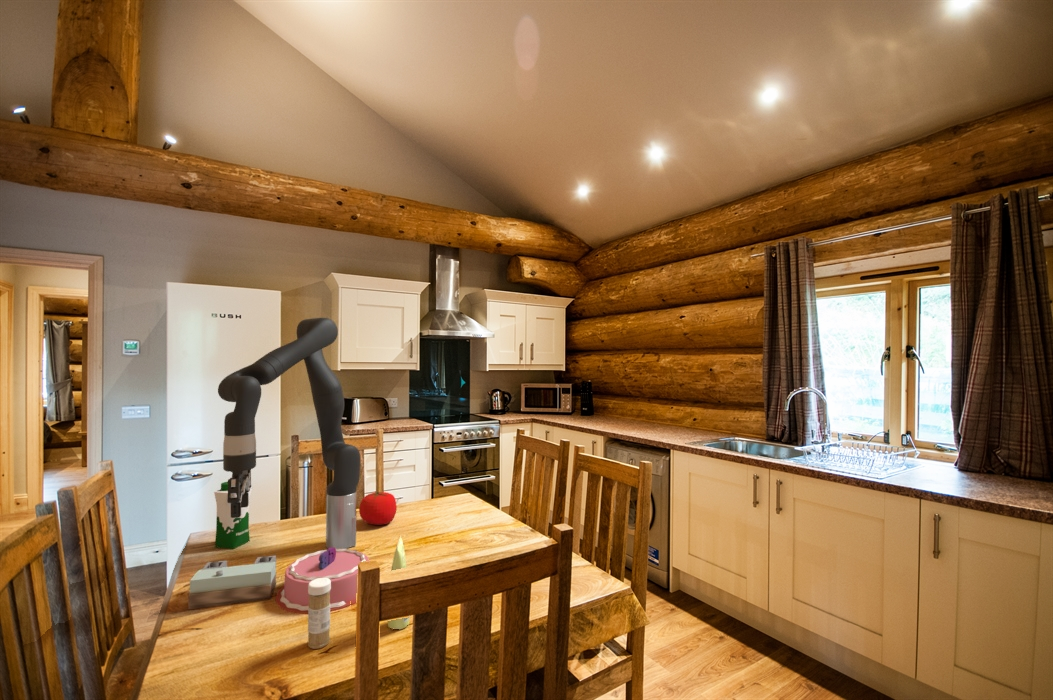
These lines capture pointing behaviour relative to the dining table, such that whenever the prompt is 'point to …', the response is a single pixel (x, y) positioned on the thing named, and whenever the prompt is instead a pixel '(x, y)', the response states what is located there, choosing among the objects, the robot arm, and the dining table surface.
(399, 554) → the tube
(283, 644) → the dining table surface
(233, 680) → the dining table surface
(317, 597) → the sprinkles bottle
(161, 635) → the dining table surface
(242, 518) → the milk carton
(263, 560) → the carcass
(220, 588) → the door
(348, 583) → the cake
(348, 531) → the robot arm
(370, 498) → the tomato
